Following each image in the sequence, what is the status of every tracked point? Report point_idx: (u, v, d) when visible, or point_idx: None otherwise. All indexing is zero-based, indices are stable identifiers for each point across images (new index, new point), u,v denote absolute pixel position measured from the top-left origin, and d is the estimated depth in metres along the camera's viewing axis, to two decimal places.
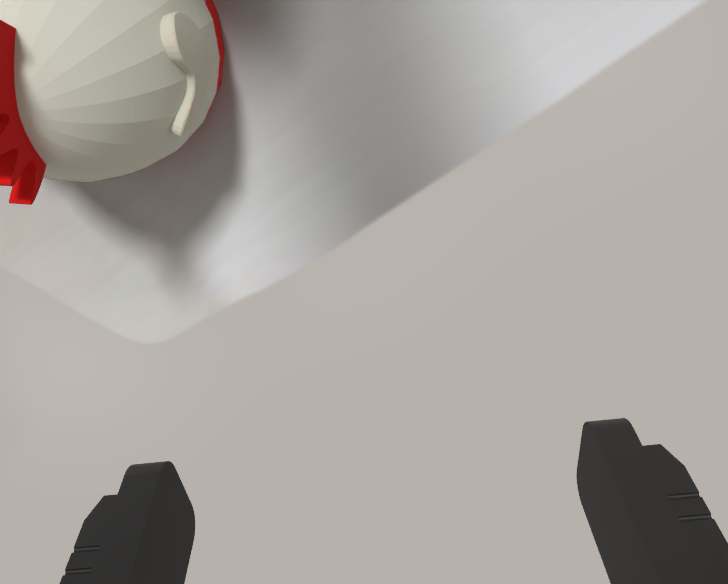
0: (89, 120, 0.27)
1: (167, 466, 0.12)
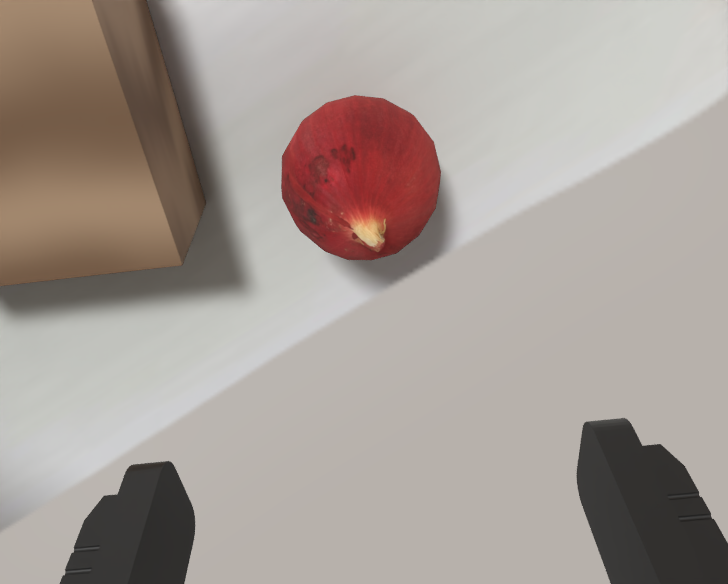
0: None
1: (167, 466, 0.12)
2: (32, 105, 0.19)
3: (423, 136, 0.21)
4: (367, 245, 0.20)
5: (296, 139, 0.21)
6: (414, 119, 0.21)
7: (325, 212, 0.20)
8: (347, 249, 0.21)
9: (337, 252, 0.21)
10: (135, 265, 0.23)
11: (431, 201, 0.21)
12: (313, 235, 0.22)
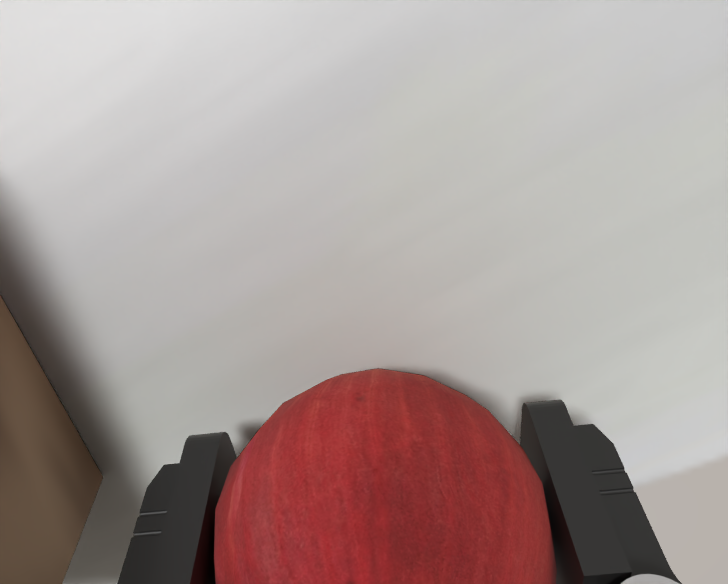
0: None
1: (224, 437, 0.12)
2: None
3: (528, 500, 0.09)
4: None
5: (240, 508, 0.09)
6: (506, 455, 0.10)
7: None
8: None
9: None
10: None
11: None
12: None
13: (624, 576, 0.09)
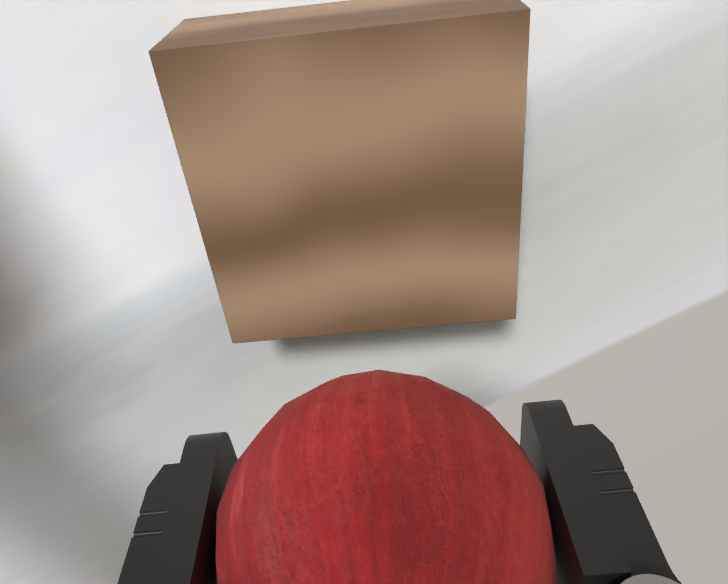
0: None
1: (224, 437, 0.12)
2: (439, 183, 0.22)
3: (529, 502, 0.09)
4: None
5: (242, 510, 0.09)
6: (507, 457, 0.10)
7: None
8: None
9: None
10: (474, 318, 0.26)
11: None
12: None
13: (624, 576, 0.09)
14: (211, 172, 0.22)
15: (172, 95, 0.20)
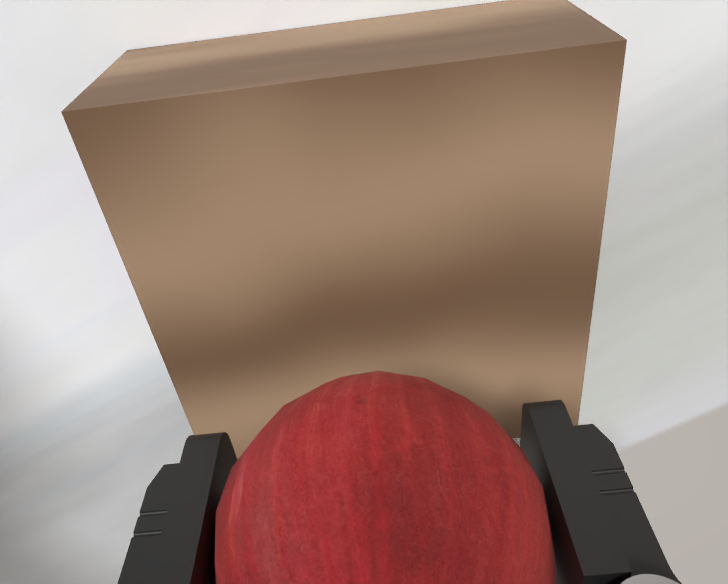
0: None
1: (224, 437, 0.12)
2: (483, 275, 0.16)
3: (528, 502, 0.09)
4: None
5: (241, 511, 0.09)
6: (506, 458, 0.10)
7: None
8: None
9: None
10: None
11: None
12: None
13: (624, 576, 0.09)
14: (166, 269, 0.16)
15: (101, 171, 0.14)
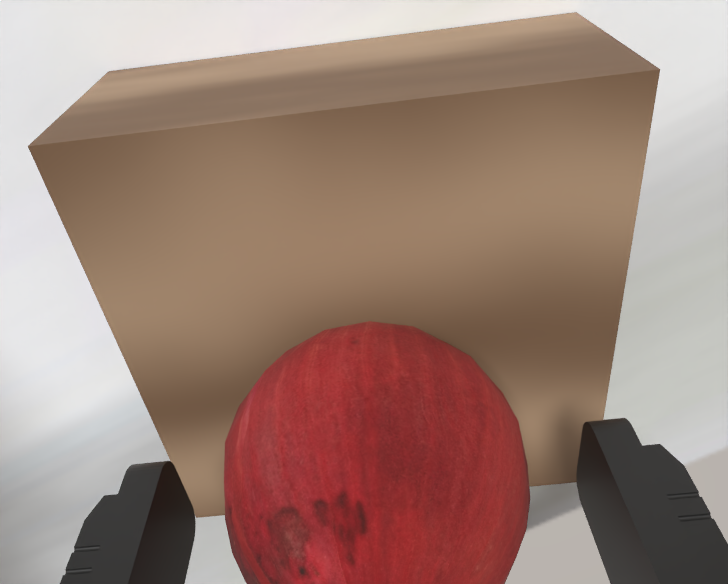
0: None
1: (167, 466, 0.12)
2: (495, 320, 0.15)
3: (503, 431, 0.11)
4: None
5: (247, 436, 0.11)
6: (484, 392, 0.11)
7: None
8: None
9: None
10: (535, 481, 0.18)
11: None
12: None
13: None
14: (148, 314, 0.14)
15: (74, 210, 0.13)
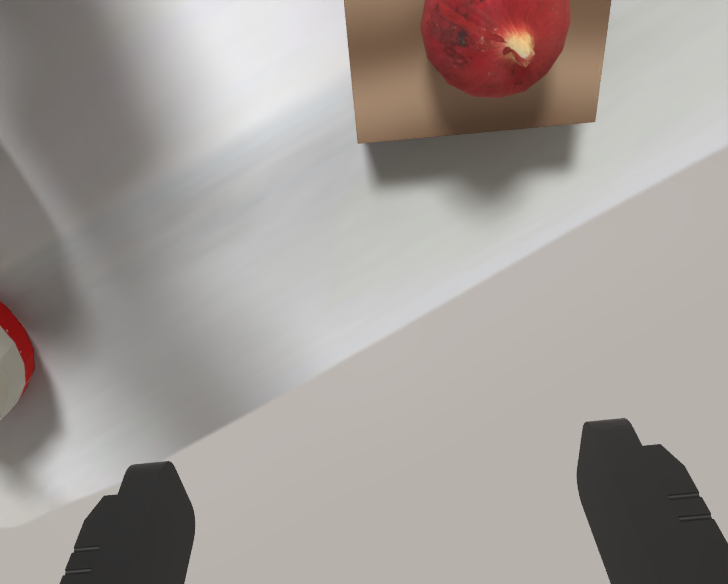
0: None
1: (167, 466, 0.12)
2: None
3: None
4: (519, 57, 0.21)
5: None
6: None
7: (478, 30, 0.22)
8: (490, 73, 0.23)
9: (478, 79, 0.23)
10: (560, 120, 0.31)
11: (565, 35, 0.23)
12: (456, 63, 0.23)
13: None
14: None
15: None
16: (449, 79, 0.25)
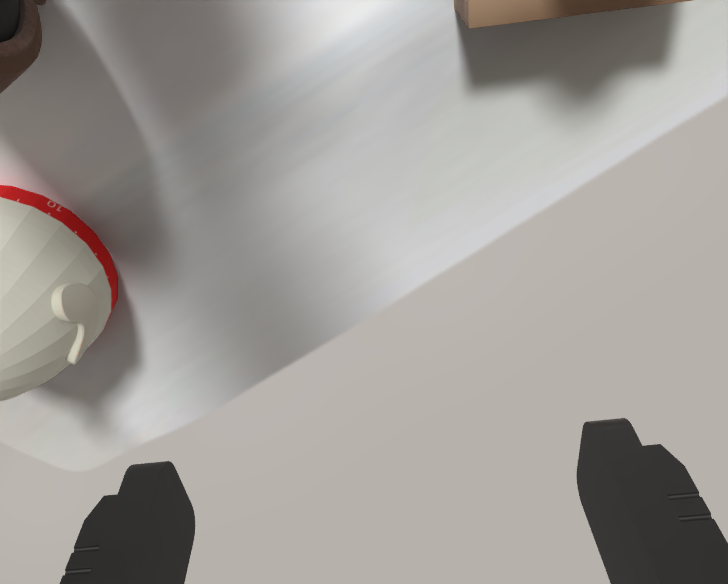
0: None
1: (167, 466, 0.12)
2: None
3: None
4: None
5: None
6: None
7: None
8: None
9: None
10: None
11: None
12: None
13: None
14: None
15: None
16: None
